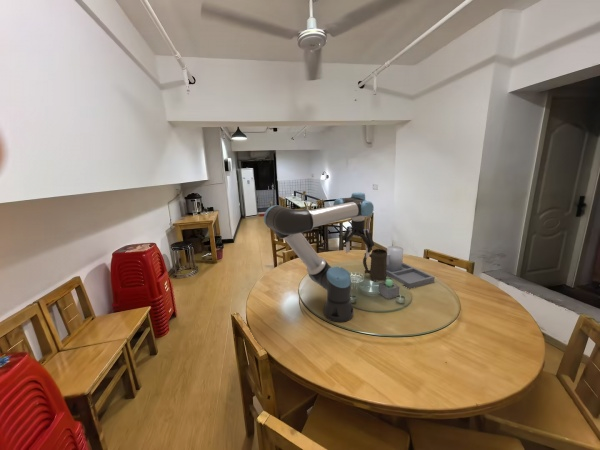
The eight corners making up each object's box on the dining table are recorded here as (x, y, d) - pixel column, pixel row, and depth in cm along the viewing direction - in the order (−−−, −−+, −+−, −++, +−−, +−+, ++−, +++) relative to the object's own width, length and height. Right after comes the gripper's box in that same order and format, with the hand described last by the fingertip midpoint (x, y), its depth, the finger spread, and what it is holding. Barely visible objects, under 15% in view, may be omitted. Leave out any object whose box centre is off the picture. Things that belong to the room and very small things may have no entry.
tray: (434, 282, 149) (434, 277, 148) (409, 289, 142) (409, 283, 141) (396, 264, 179) (396, 259, 178) (374, 269, 171) (374, 264, 171)
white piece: (405, 271, 164) (406, 249, 160) (390, 274, 160) (392, 252, 156) (394, 265, 174) (395, 245, 170) (380, 268, 169) (381, 247, 166)
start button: (393, 290, 135) (394, 281, 134) (388, 292, 134) (388, 282, 132) (389, 287, 138) (389, 278, 137) (383, 289, 137) (384, 279, 136)
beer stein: (385, 275, 161) (384, 247, 157) (389, 282, 151) (389, 253, 147) (362, 276, 163) (361, 249, 159) (365, 283, 153) (364, 254, 148)
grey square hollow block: (398, 296, 134) (399, 286, 133) (387, 299, 132) (388, 289, 130) (389, 289, 142) (389, 280, 140) (378, 292, 139) (378, 283, 138)
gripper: (381, 221, 127) (380, 257, 132) (344, 216, 145) (344, 248, 150) (374, 224, 122) (373, 261, 127) (336, 218, 140) (336, 251, 145)
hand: (357, 254), depth 138 cm, fingers open, 13 cm apart
